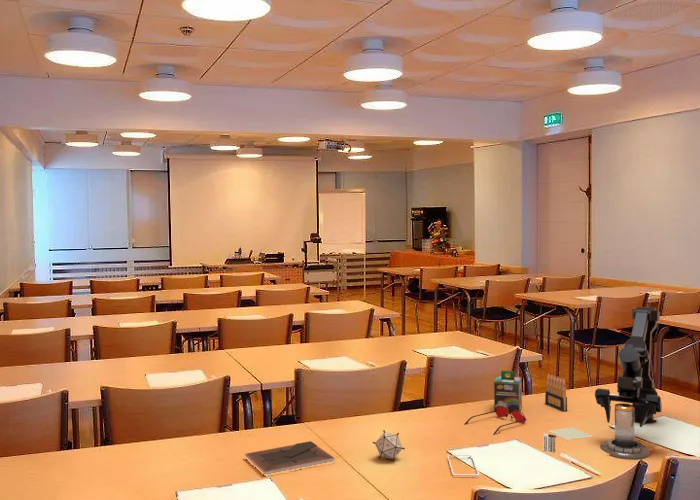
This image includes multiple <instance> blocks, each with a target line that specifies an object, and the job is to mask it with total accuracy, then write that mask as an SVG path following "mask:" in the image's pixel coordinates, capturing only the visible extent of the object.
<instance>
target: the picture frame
mask: <svg viewBox="0 0 700 500" xmlns="http://www.w3.org/2000/svg"><path fill="white" fill-rule="evenodd" d="M245 456H246V457H247V458H248V459H249V460H250V461H251V462H252V463H253V464H254V465H255V466H257V467H258V468H259V469H260V470H261V471H262V472H263V473H264V474H271V473H276V472H281V471H286V470H292V469H297V468H302V467H308V466H312V465H317V464H322V463H327V462H333V461H334V462H335V457H334V456H333V455H331V454H330V453H328V452H326V451H325V450H323V448H321V447H319V446H318V444H316V443H314V442H313V441H312V440H309V441H304V442H299V443H295V444H291V445H285V446H280V447H275V448H274V447H273V448H269V449H264V450H259V451H252V452H247V453H245V454H244V457H245Z"/></svg>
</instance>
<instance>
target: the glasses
mask: <svg viewBox="0 0 700 500" xmlns="http://www.w3.org/2000/svg"><path fill="white" fill-rule="evenodd" d="M496 408H497V410H496V411H494V410H492V411H488V412H484V413H480V414H477V415H472V416H471V417H470V418H468V419H467V421H466V422H465V423H464V424H463V425H464V426H466V425H467V424H468V423H469V421H470V420H472V419H473V418H475V417H480V416H483V415H484V416H485V415H488V414H493V413H495V414H496V418H507V417H509V413H508V411H509V408H507V407H503V406H498V405H497V407H496ZM511 410H513V409H511ZM510 414H511V415H510V419H511V420H513V419H514V420H515V421H512V422H510V423H505V424H502V425H500V426H498V428H496V430H495V431H494V432H493V434H492V435H493V436H495V435H496V434H497V432H498V431H500V429H501V428H503V427H505V426H509V425H513V424H517V423H520V424H525V423H526V421H527V420H528V418H526V417H525V414H524V413H523V412H521V411H520V413H519V411H517V410H514V411H513V412H512V413H510Z"/></svg>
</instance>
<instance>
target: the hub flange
mask: <svg viewBox="0 0 700 500" xmlns="http://www.w3.org/2000/svg"><path fill="white" fill-rule="evenodd" d="M599 448H600V450H601V451H603V452H604V453H606V454H608V456H610V457H613V458H618V459H623V460H642V459H646V458H648V457H649V456H650V454H651V451H650V449H649V448H648V447H646V446H645V445H643V444H642V443H641V442H640V441H638V440H635V439H634V448H623V447H618V446H615V437H614V438H609V439H608V440H607V441H605V442H602V443H600V445H599Z"/></svg>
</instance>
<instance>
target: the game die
mask: <svg viewBox="0 0 700 500" xmlns="http://www.w3.org/2000/svg"><path fill="white" fill-rule="evenodd" d="M382 432H383V433H382V434H381V436H380V437H379V438H377V440H376V441H373V442H371V443H372V444H373V445H374V444H375V447H376V449H377V451H378V455H379V456H378V459H381V458H385V459H390V460H392V462H395V459H396V457H397V456H398V454H399V453H400V452H401V451H402V450H405V449H406V448H405V447H403V445H402V444H401V441H400V439H399V435H400V432H397V433H390V432H386V430H385V429H383V431H382Z"/></svg>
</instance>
